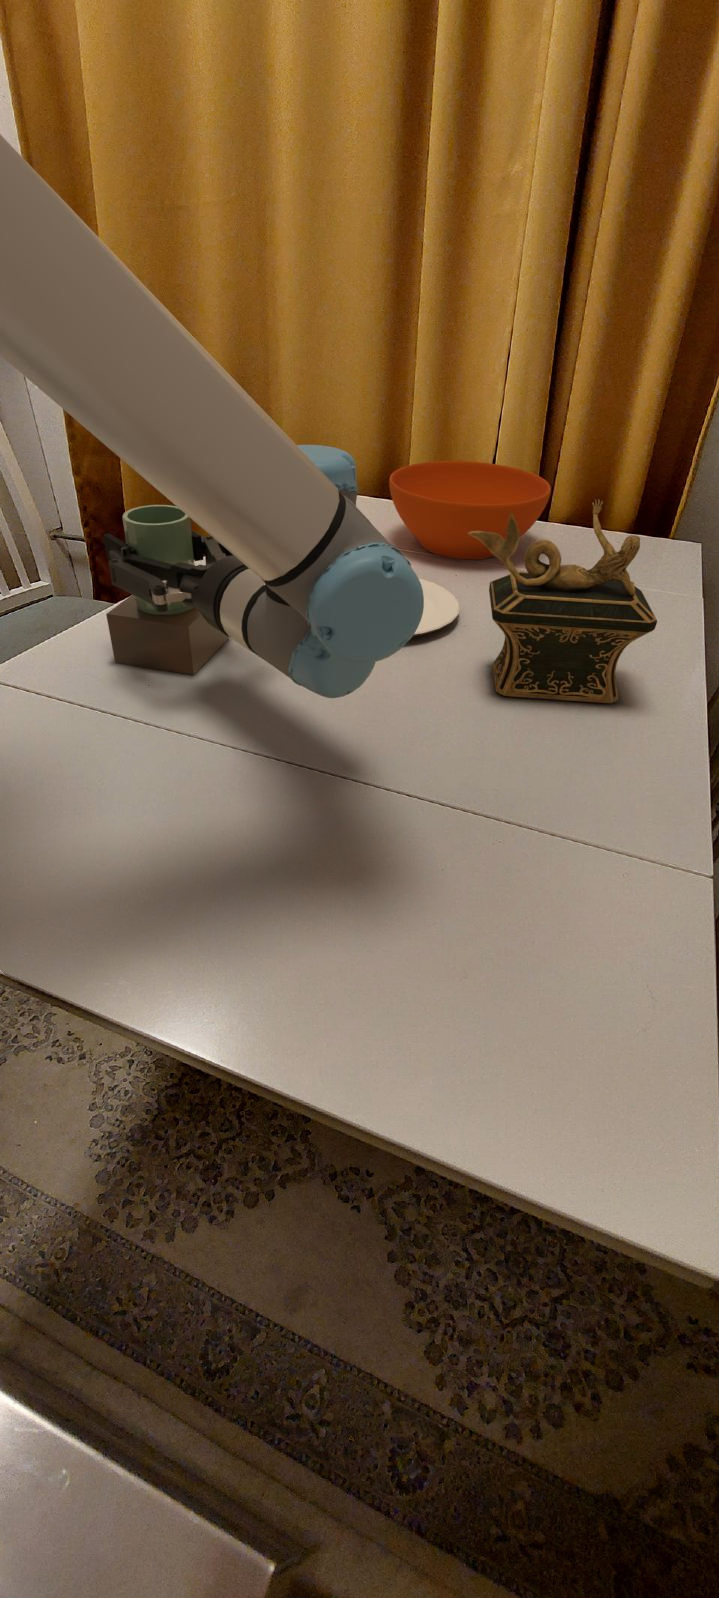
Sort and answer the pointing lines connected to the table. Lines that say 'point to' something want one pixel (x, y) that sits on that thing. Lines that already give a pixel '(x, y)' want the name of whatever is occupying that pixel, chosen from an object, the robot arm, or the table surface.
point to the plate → (436, 608)
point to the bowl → (465, 503)
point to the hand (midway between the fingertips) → (140, 539)
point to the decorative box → (564, 618)
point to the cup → (160, 542)
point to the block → (162, 638)
